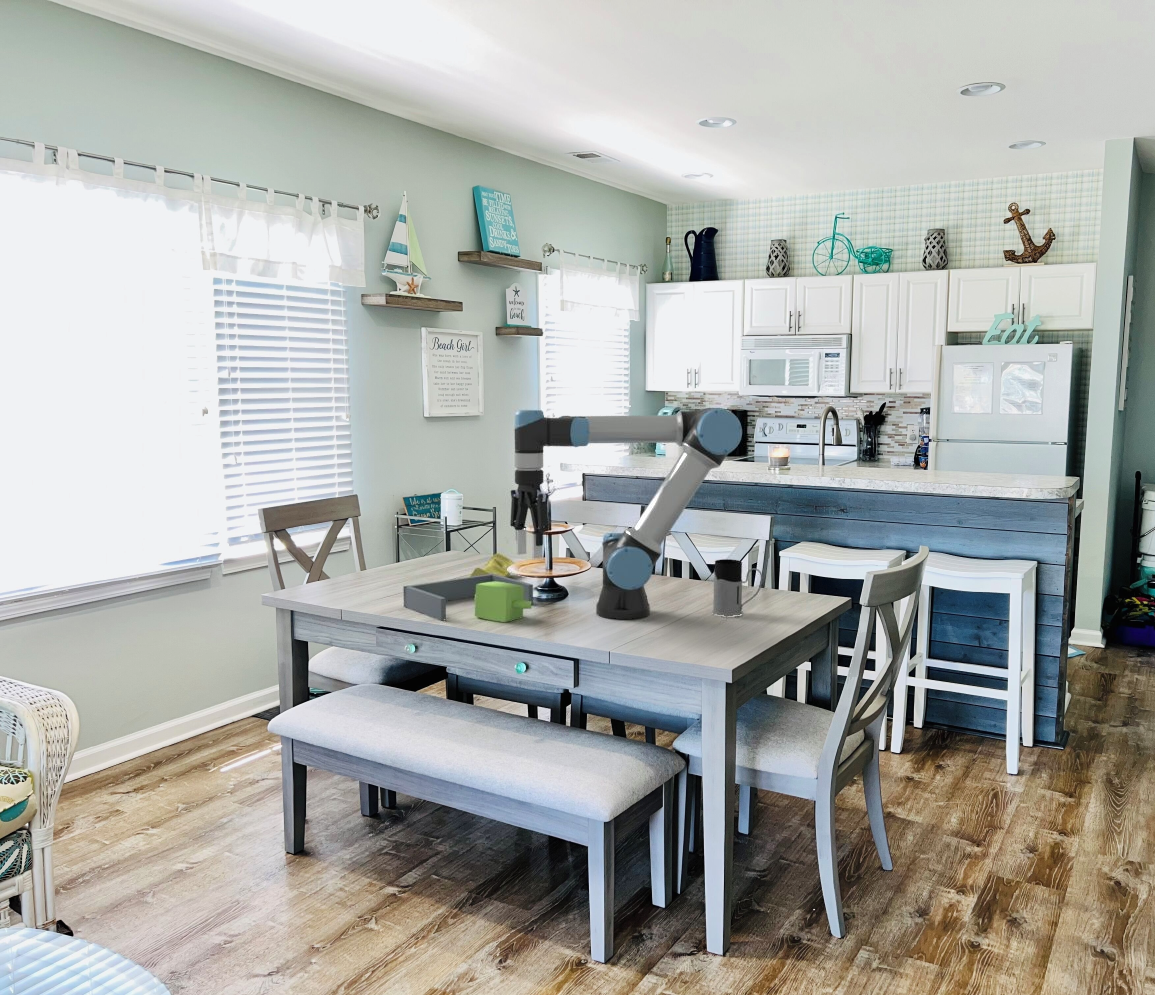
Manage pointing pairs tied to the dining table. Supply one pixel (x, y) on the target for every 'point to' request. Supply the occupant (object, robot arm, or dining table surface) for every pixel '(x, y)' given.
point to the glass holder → (729, 587)
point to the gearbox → (500, 601)
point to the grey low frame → (451, 593)
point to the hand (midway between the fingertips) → (529, 555)
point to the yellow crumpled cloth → (495, 566)
